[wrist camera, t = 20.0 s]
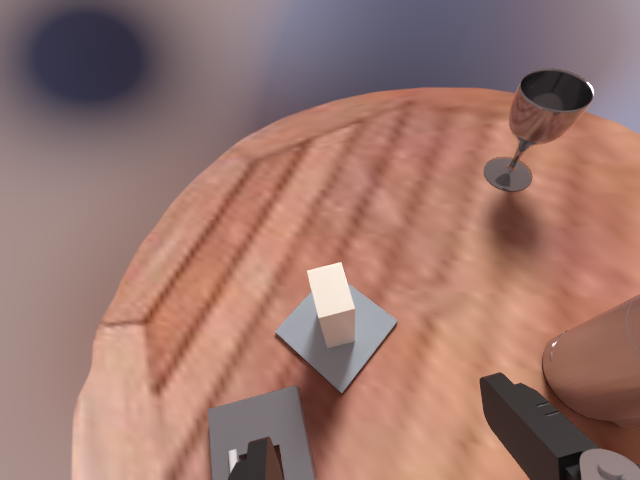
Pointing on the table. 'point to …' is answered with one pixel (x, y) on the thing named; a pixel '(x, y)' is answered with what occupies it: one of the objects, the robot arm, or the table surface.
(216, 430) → the gray slotted base
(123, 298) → the table surface
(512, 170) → the wine glass
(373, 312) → the mat
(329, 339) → the tall cream pillar
